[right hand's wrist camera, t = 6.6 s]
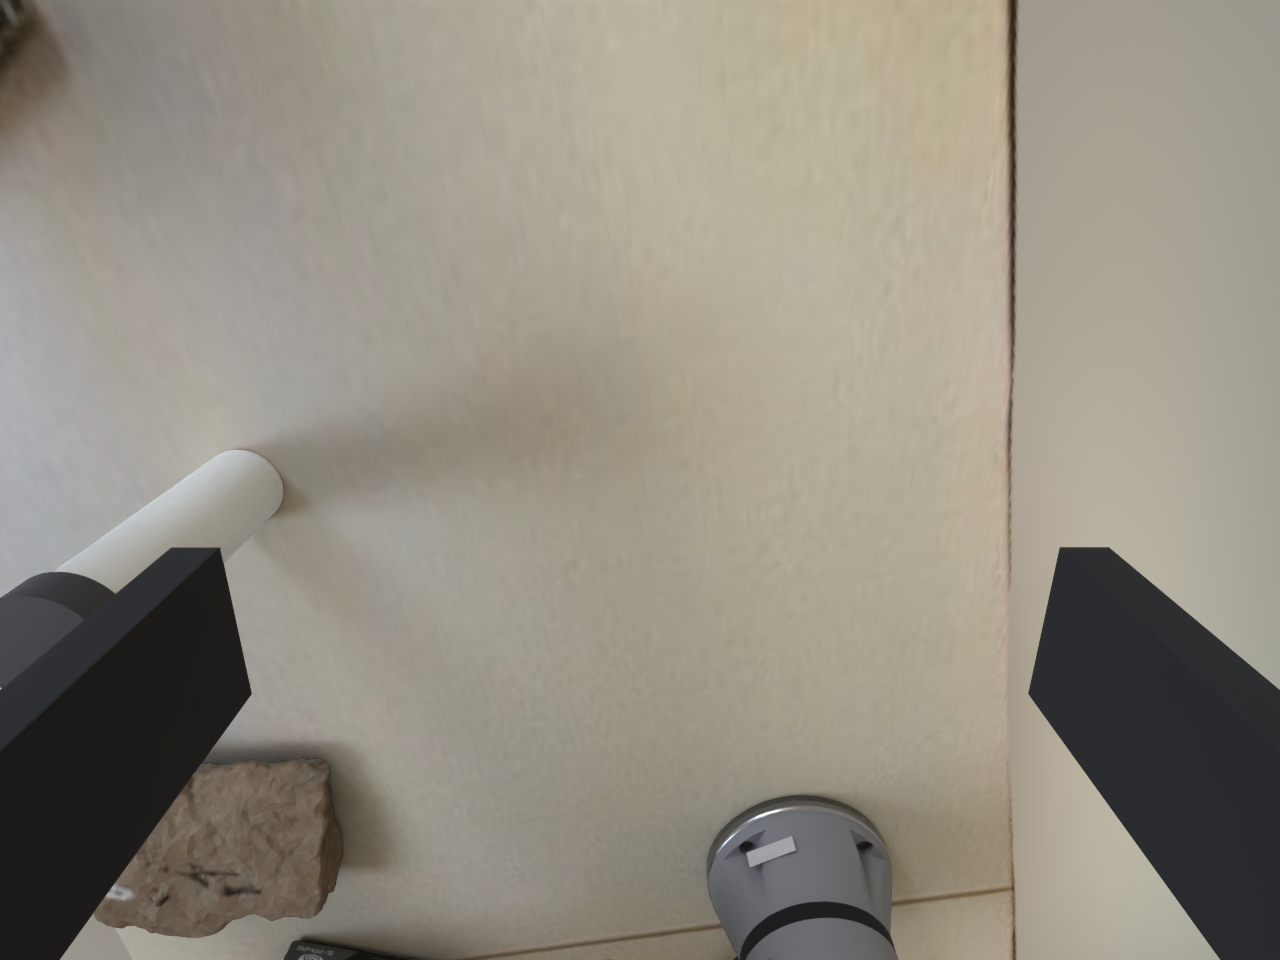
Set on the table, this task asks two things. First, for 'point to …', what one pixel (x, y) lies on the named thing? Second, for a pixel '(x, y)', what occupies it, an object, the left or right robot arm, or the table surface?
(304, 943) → the graphics card box
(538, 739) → the table surface
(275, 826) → the stone
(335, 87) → the table surface
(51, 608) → the lid
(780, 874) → the right robot arm
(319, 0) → the table surface
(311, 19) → the table surface
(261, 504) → the white bottle
